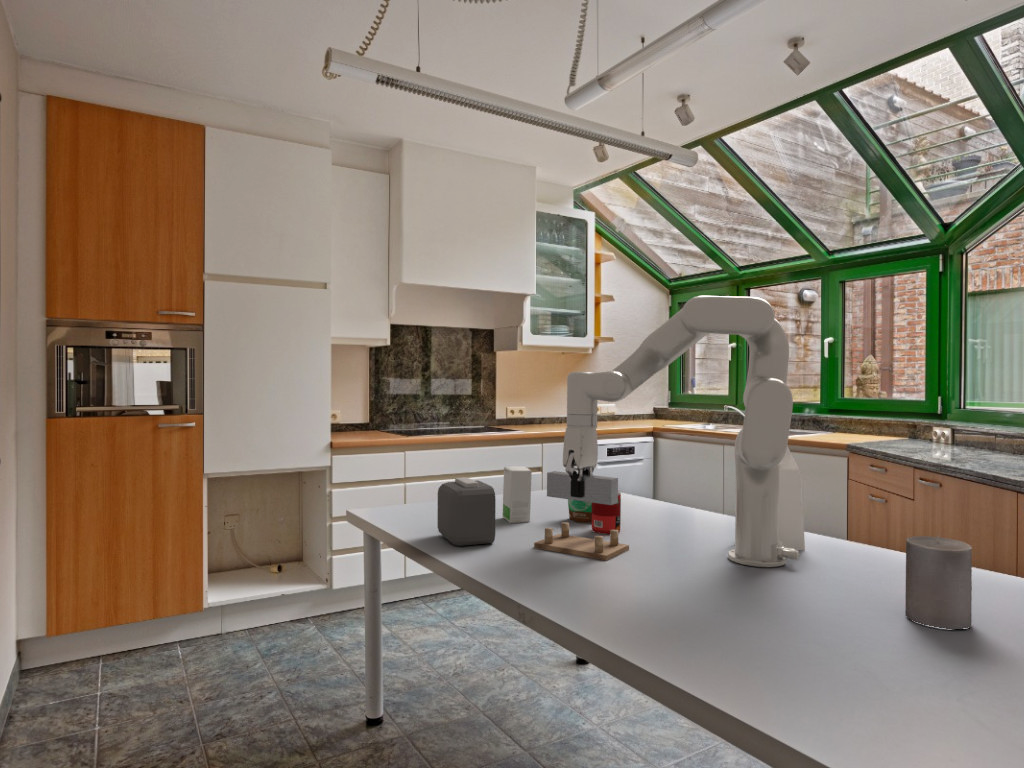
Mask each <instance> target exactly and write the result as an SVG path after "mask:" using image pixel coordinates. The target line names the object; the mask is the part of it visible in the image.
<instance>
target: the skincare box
mask: <svg viewBox="0 0 1024 768" xmlns="http://www.w3.org/2000/svg"><path fill="white" fill-rule="evenodd" d="M532 473H533V472H532V470H531V469H529V468H528V467H526V466H523V465H518V466H517V465H515V466H514V465H513V466H512V465H511V466H504V467H503V486H502V487H503V489H502V491H503V494H502V518H503V519H504V520H506V521H507V522H508V523H510V524H518V523H531V503H532V502H531V496H532Z"/></svg>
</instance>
